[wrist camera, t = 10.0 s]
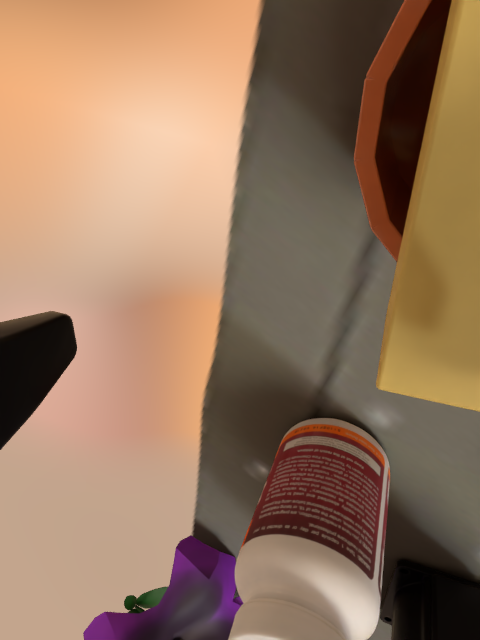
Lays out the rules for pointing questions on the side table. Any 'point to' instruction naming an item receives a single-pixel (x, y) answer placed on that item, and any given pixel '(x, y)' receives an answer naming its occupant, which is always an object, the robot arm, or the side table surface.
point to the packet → (442, 238)
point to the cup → (397, 115)
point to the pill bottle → (316, 538)
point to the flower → (179, 601)
